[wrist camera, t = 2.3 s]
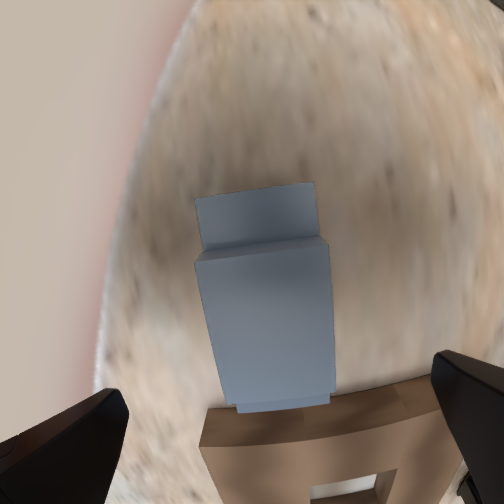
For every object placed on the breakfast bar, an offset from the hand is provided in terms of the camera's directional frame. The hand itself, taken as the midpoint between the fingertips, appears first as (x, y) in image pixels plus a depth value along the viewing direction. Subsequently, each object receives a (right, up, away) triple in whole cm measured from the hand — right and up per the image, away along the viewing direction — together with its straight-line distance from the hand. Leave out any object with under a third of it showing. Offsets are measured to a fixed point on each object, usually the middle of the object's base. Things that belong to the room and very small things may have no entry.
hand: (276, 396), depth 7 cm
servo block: (0, +2, +9) cm, 9 cm away
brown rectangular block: (+7, -14, +12) cm, 19 cm away
